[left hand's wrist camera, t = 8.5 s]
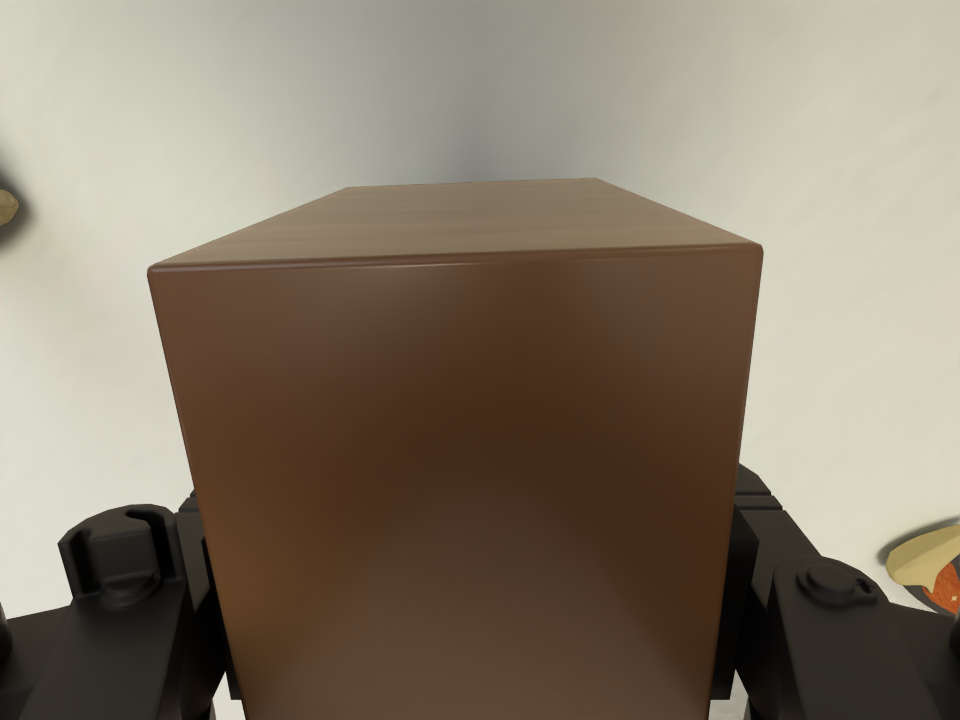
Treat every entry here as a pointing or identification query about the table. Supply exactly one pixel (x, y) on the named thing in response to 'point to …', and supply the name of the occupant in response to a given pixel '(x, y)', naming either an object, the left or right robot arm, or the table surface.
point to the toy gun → (930, 568)
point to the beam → (466, 448)
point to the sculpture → (7, 206)
